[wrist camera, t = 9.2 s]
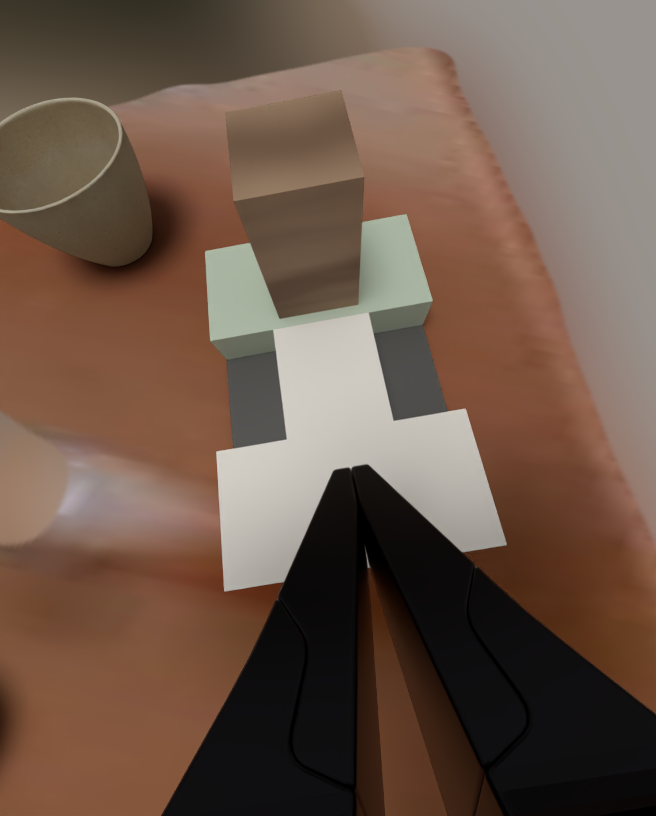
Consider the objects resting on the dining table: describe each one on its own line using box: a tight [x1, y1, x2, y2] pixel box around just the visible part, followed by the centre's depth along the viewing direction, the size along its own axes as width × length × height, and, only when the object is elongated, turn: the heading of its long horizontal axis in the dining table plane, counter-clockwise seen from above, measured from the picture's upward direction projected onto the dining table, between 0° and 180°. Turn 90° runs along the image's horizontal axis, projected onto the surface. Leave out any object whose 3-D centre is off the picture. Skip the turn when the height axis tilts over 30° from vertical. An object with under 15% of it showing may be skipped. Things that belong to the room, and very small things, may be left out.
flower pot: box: [0, 98, 152, 266], centre depth 22 cm, size 10×10×7 cm
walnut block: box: [225, 90, 364, 319], centre depth 16 cm, size 5×5×8 cm
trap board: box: [205, 214, 507, 592], centre depth 20 cm, size 21×14×3 cm, turn 9°
